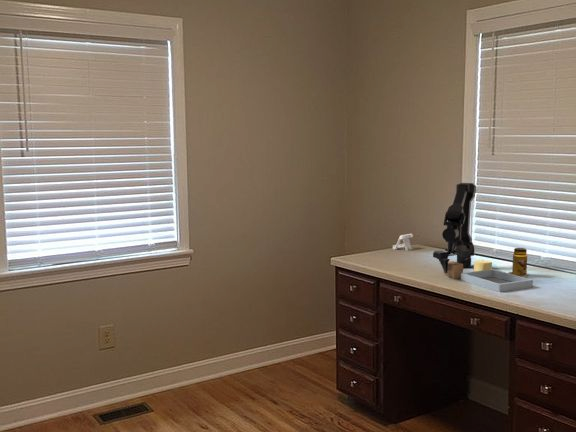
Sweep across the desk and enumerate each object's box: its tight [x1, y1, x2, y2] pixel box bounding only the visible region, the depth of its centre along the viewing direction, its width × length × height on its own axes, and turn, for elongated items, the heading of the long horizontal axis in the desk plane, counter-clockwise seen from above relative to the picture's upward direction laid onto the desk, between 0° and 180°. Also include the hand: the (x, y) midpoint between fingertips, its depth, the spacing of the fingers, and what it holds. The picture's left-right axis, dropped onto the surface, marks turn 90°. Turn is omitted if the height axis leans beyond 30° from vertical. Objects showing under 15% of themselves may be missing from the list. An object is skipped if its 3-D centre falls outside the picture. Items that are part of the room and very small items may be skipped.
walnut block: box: [443, 260, 464, 279], centre depth 290 cm, size 7×5×6 cm
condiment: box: [507, 247, 529, 278], centre depth 291 cm, size 7×8×12 cm
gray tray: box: [460, 268, 534, 293], centre depth 276 cm, size 23×18×3 cm
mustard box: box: [473, 259, 493, 272], centre depth 297 cm, size 6×5×5 cm
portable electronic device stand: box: [392, 233, 414, 252], centre depth 353 cm, size 9×8×8 cm
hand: (453, 272), depth 290 cm, fingers open, 8 cm apart
